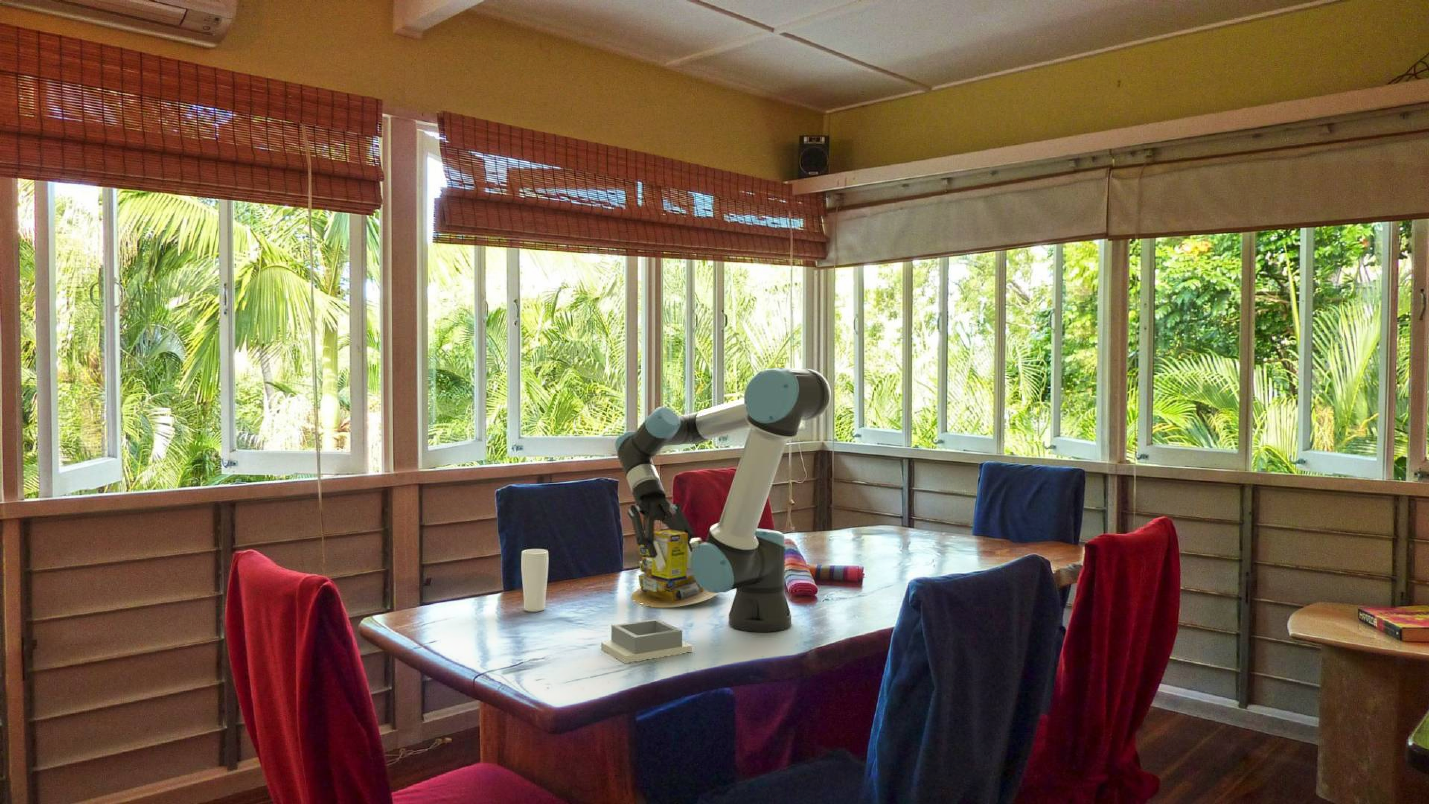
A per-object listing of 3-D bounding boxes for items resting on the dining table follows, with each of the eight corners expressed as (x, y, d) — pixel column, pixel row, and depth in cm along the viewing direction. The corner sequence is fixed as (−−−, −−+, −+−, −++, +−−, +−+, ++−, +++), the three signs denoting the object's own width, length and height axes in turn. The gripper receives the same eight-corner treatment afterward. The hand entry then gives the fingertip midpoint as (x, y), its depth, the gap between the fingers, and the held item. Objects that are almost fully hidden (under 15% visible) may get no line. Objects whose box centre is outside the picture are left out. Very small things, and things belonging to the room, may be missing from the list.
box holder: (665, 638, 217) (665, 617, 217) (692, 652, 207) (692, 629, 207) (601, 649, 209) (601, 626, 208) (625, 663, 198) (625, 639, 198)
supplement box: (687, 579, 223) (688, 532, 222) (668, 582, 218) (669, 535, 218) (669, 574, 227) (671, 528, 226) (650, 578, 223) (652, 531, 222)
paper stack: (657, 613, 240) (657, 547, 240) (615, 593, 261) (616, 533, 261) (740, 602, 253) (740, 540, 252) (694, 584, 274) (695, 526, 273)
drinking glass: (553, 609, 243) (553, 551, 242) (531, 614, 238) (531, 554, 237) (537, 605, 247) (537, 547, 247) (515, 609, 242) (515, 551, 242)
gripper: (676, 494, 240) (707, 571, 227) (604, 498, 230) (632, 579, 217) (687, 476, 235) (720, 554, 222) (614, 479, 225) (644, 561, 212)
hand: (676, 566), depth 220 cm, fingers closed on supplement box, 7 cm apart
